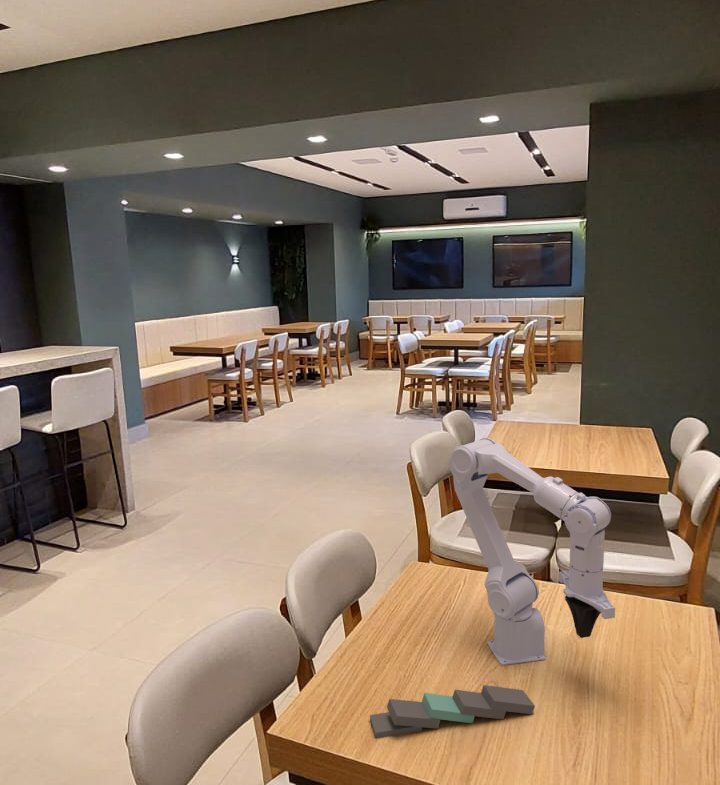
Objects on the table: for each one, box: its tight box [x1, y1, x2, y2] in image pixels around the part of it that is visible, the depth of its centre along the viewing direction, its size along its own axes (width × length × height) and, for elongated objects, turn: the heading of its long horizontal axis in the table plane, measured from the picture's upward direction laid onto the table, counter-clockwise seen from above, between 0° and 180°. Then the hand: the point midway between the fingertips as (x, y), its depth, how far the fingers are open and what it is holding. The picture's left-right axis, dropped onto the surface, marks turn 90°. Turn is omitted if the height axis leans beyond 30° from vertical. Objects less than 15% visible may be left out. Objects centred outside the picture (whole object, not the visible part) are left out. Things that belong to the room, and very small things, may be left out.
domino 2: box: [386, 698, 441, 729], centre depth 104 cm, size 2×4×8 cm
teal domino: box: [421, 692, 476, 724], centre depth 106 cm, size 2×4×8 cm
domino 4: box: [480, 684, 536, 715], centre depth 107 cm, size 2×4×8 cm
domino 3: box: [452, 689, 507, 720], centre depth 106 cm, size 2×4×8 cm
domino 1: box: [369, 711, 423, 739], centre depth 104 cm, size 2×4×8 cm
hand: (583, 635), depth 112 cm, fingers closed
